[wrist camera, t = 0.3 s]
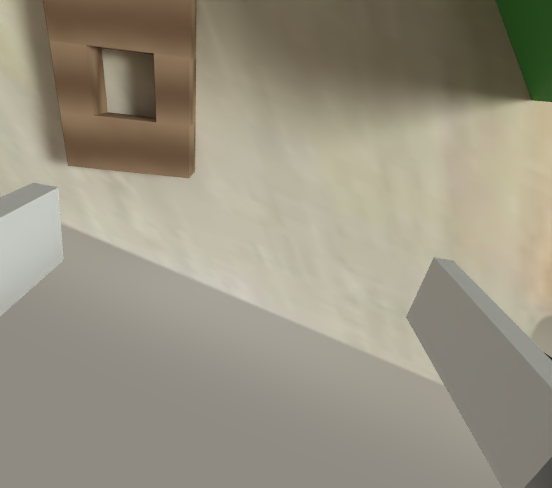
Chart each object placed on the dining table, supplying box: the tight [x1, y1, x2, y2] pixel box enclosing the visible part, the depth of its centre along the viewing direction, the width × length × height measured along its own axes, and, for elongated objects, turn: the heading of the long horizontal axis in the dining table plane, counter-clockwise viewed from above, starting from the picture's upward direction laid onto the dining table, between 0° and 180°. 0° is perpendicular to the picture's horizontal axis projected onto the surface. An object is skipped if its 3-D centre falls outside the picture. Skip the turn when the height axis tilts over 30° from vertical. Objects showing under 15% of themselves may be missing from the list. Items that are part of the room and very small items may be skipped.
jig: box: [43, 0, 196, 178], centre depth 33 cm, size 16×12×3 cm
